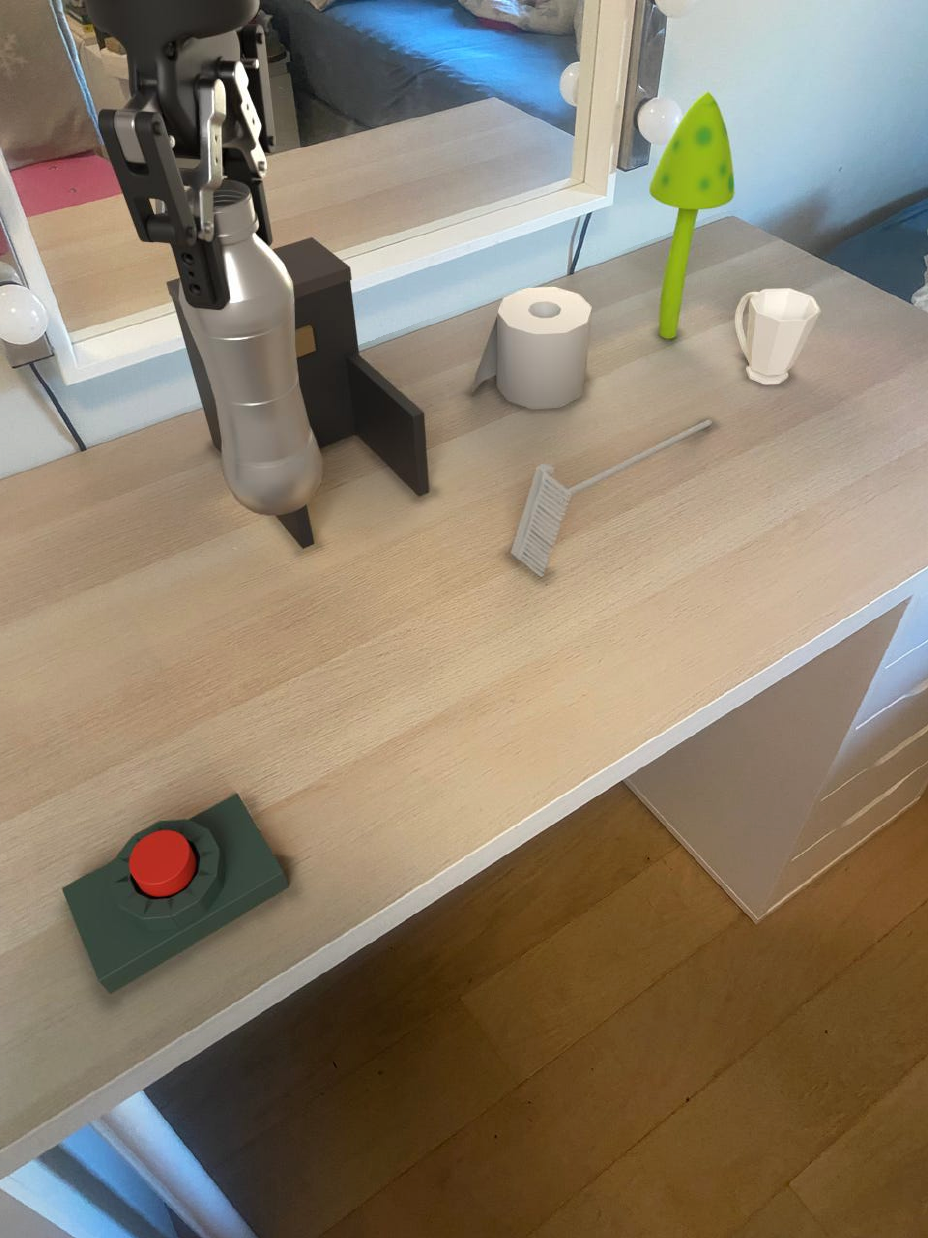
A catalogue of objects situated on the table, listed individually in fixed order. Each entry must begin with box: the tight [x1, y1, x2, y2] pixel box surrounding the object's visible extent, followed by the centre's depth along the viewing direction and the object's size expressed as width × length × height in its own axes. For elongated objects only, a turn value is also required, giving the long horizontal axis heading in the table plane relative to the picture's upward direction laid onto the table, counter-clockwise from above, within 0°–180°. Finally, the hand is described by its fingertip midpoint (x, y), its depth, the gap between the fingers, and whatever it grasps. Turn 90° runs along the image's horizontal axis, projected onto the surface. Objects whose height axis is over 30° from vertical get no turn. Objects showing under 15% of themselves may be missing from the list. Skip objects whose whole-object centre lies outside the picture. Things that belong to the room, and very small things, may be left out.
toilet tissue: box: [470, 286, 593, 410], centre depth 92 cm, size 9×13×9 cm
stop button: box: [129, 830, 196, 897], centre depth 54 cm, size 4×4×2 cm
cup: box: [734, 287, 822, 386], centre depth 94 cm, size 7×10×8 cm
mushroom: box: [648, 91, 735, 339], centre depth 93 cm, size 8×8×25 cm
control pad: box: [61, 792, 290, 995], centre depth 56 cm, size 12×7×4 cm, turn 124°
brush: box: [510, 418, 713, 578], centre depth 82 cm, size 4×28×9 cm, turn 133°
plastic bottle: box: [179, 178, 323, 517], centre depth 53 cm, size 6×7×20 cm
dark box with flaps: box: [165, 236, 430, 550], centre depth 81 cm, size 19×14×17 cm
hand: (232, 274), depth 49 cm, fingers closed on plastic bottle, 6 cm apart
